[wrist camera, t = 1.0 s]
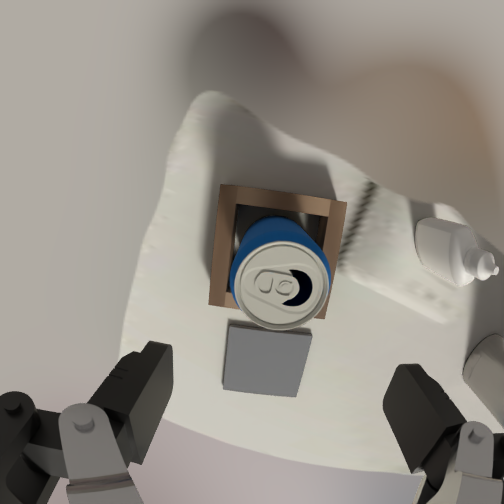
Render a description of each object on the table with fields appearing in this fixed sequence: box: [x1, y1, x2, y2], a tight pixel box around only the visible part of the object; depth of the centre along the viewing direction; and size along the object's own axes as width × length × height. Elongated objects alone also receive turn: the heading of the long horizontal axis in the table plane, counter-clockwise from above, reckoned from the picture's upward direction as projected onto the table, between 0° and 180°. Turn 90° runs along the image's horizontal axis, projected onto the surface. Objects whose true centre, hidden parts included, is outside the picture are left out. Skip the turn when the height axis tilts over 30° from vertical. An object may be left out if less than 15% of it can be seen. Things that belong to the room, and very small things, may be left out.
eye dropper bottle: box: [415, 217, 499, 286], centre depth 22 cm, size 4×6×12 cm
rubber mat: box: [223, 324, 312, 397], centre depth 31 cm, size 9×9×1 cm
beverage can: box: [230, 215, 331, 330], centre depth 23 cm, size 6×6×12 cm
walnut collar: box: [208, 184, 347, 319], centre depth 27 cm, size 11×11×4 cm
